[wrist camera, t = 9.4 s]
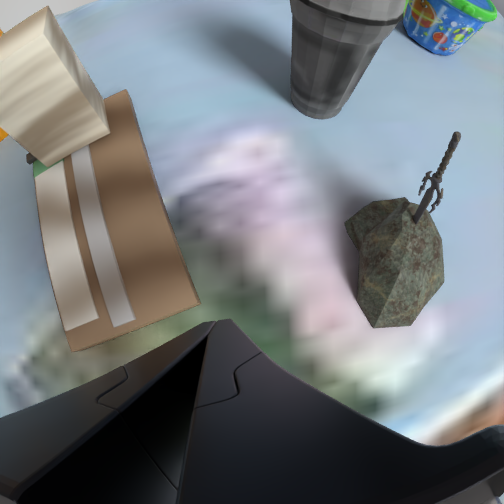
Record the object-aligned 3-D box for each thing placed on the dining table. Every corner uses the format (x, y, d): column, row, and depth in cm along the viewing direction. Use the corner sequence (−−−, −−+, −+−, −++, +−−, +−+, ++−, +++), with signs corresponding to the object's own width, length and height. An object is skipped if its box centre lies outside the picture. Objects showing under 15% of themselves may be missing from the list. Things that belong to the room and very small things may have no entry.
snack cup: (447, 21, 28) (473, -24, 18) (486, 73, 26) (523, 28, 16) (358, 7, 28) (378, -54, 18) (398, 62, 26) (434, -6, 16)
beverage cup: (267, 122, 23) (288, -131, 4) (281, 63, 25) (303, -135, 5) (355, 142, 23) (469, -75, 4) (358, 81, 25) (429, -101, 5)
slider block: (111, 133, 21) (43, 33, 10) (30, 179, 20) (-57, 112, 9) (104, 100, 22) (48, 5, 11) (29, 143, 21) (-45, 74, 10)
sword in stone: (449, 310, 21) (562, 301, 9) (363, 341, 21) (458, 365, 9) (417, 190, 23) (502, 113, 11) (330, 207, 23) (385, 114, 11)
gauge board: (201, 304, 21) (196, 302, 19) (81, 350, 20) (68, 352, 18) (131, 98, 24) (124, 86, 22) (40, 147, 23) (30, 138, 21)
